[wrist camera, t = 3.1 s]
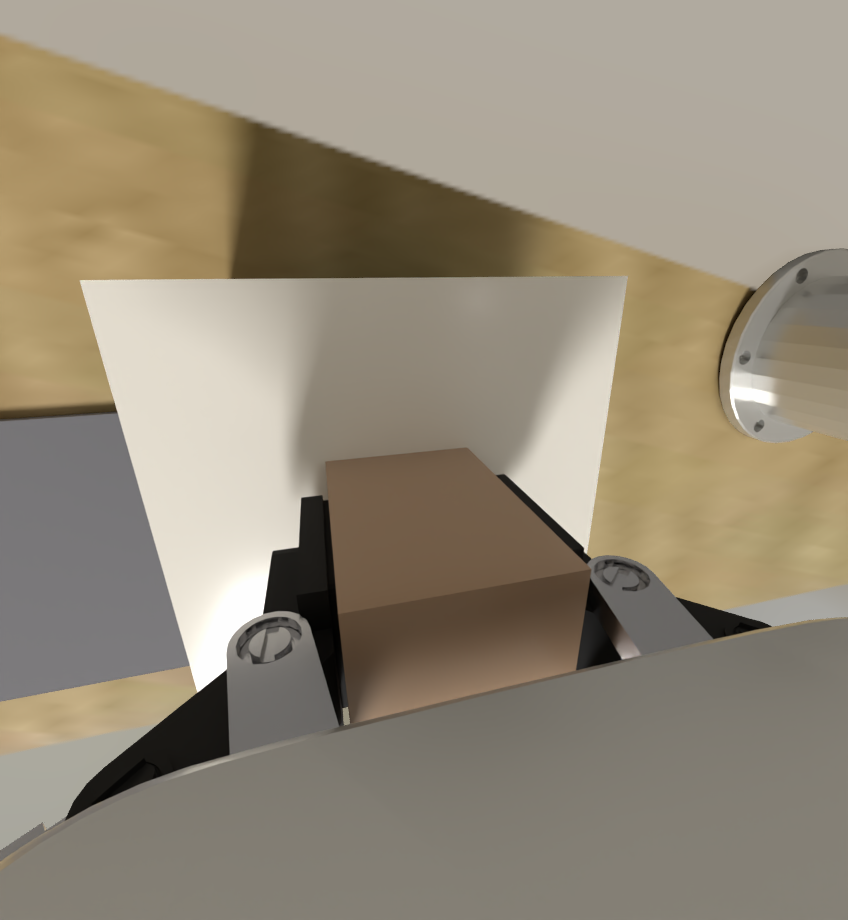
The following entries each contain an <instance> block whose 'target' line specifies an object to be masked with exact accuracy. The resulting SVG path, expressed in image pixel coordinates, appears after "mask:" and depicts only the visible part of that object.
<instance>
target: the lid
mask: <svg viewBox="0 0 848 920" xmlns="http://www.w3.org/2000/svg"><path fill="white" fill-rule="evenodd" d="M627 278H628V276H565V277H433V278H301V279H169V280H80V283H81V287H82V290H83V294H84V297H85V300H86V304H87V307H88V311H89V314H90V318H91V321H92V325H93V328H94V332H95V335H96V339H97V342H98V346H99V349H100V353H101V356H102V360H103V363H104V367H105V370H106V374H107V377H108V381H109V384H110V388H111V391H112V395H113V398H114V402H115V405H116V409H117V412H118V416H119V419H120V423H121V426H122V430H123V433H124V437H125V440H126V444H127V447H128V451H129V454H130V458H131V461H132V465H133V468H134V472H135V475H136V479H137V482H138V486H139V489H140V493H141V496H142V500H143V503H144V507H145V510H146V514H147V517H148V521H149V524H150V528H151V531H152V535H153V538H154V542H155V545H156V549H157V552H158V556H159V559H160V563H161V566H162V570H163V573H164V577H165V580H166V584H167V587H168V591H169V594H170V598H171V601H172V605H173V608H174V612H175V615H176V619H177V622H178V626H179V629H180V633H181V636H182V640H183V643H184V647H185V650H186V653H187V657H188V660H189V664H190V667H191V671H192V674H193V678H194V681H195V685H196V688H197V692H199V691H200V690H201V689H203V688H204V687H205V686H206V685H208V684H209V683H210V682H211V681H213V680H214V679H215V678H216V677H218V676H219V675H220V674H221V673H223V672H224V671H225V670H226V669H227V662H226V651H227V645H228V642H229V640H230V639H231V637H232V635H233V634H234V633H235V632H236V631H237V630H238V629H239V628H240V627H241V626H242V625H243V624H245V623H247V622H248V621H250V620H251V619H253V618H255V617H258V616H260V615H263V609H264V603H265V596H266V590H267V583H268V576H269V570H270V563H271V556H272V552H273V551H275V550H282V549H289V548H296V547H299V530H300V509H301V498H302V497H311V496H319V495H322V496H323V500H328V501H329V513H330V525H331V536H332V548H333V560H334V572H335V584H336V596H337V608H338V618H339V627H340V636H341V645H342V654H343V663H344V672H345V681H346V690H347V699H348V709H349V717H350V724H353V723H357V722H361V721H365V720H369V719H374V718H378V717H382V716H386V715H390V714H394V713H399V712H403V711H407V710H411V709H415V708H419V707H424V706H428V705H432V704H436V703H440V702H444V701H449V700H453V699H457V698H461V697H465V696H469V695H474V694H478V693H482V692H486V691H491V690H495V689H499V688H503V687H508V686H512V685H516V684H520V683H525V682H529V681H533V680H538V679H542V678H546V677H550V676H555V675H559V674H563V673H568V672H572V671H576V666H577V659H578V653H579V646H580V640H581V634H582V627H583V621H584V614H585V608H586V601H587V595H588V588H589V582H590V575H591V568H590V567H589V566H588V565H587V564H586V563H585V562H584V561H583V560H582V559H581V558H580V557H579V556H578V555H577V554H576V553H574V552H573V551H572V550H571V549H570V548H569V547H568V546H567V545H566V544H565V543H564V542H563V541H562V540H561V539H560V538H559V537H558V536H557V535H556V534H555V533H554V532H553V531H552V530H551V529H550V528H549V527H548V526H547V525H546V524H545V523H544V522H543V521H542V520H541V519H540V518H539V517H538V516H537V515H536V514H535V513H534V512H533V511H532V510H531V509H530V508H529V507H528V506H527V505H526V504H524V503H523V502H522V501H521V500H520V499H519V498H518V497H517V496H516V495H515V494H514V493H513V492H512V491H511V490H510V489H509V488H508V487H507V486H506V485H505V484H504V483H503V482H502V481H501V480H500V479H499V478H498V477H497V476H496V475H500V474H505V475H506V476H507V477H509V478H510V479H511V480H512V481H513V482H514V483H515V484H516V485H517V486H518V487H519V488H520V489H521V490H523V491H524V492H525V493H526V494H527V495H528V496H529V497H530V498H531V499H532V500H533V501H534V502H535V503H537V504H538V505H539V506H540V507H541V508H542V509H543V510H544V511H545V512H546V513H547V514H548V515H549V516H551V517H552V518H553V519H554V520H555V521H556V522H557V523H558V524H559V525H560V526H561V527H562V528H563V529H565V530H566V531H567V532H568V533H569V534H570V535H571V536H572V537H573V538H574V539H575V540H576V541H577V542H579V543H580V544H581V545H582V546H583V547H584V552H585V553H586V554H587V549H588V542H589V536H590V529H591V522H592V515H593V508H594V502H595V495H596V488H597V481H598V475H599V468H600V461H601V454H602V448H603V441H604V434H605V427H606V420H607V414H608V407H609V400H610V393H611V387H612V380H613V373H614V366H615V359H616V353H617V346H618V339H619V332H620V326H621V319H622V312H623V305H624V299H625V292H626V285H627Z"/></svg>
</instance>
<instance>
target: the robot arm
mask: <svg viewBox="0 0 848 920" xmlns="http://www.w3.org/2000/svg"><path fill="white" fill-rule="evenodd" d="M719 385H720V398H721V402H722V406H723V410H724V412H725V414H726V416H727V418H728V420H729V422H730V423H731V424H732V425H733V426H734V427H735V428H736V429H737V430H738V431H739V432H741V433H743V434H744V435H746V436H748V437H751V438H754V439H757V440H760V441H763V442H770V443H782V442H790V441H793V440H796V439H799V438H802V437H804V436H806V435H808V434H810V433H812V432H817V433H821V434H824V435H828V436H832V437H835V438H839V439H843V440H846V441H848V249H830V250H820V251H816V252H812V253H808V254H805V255H802V256H801V257H798V258H796V259H794V260H792V261H790V262H788V263H787V264H786V265H784V266H783V267H782V268H780V269H779V270H777V271H776V272H775V273H773V274H772V275H771V276H770V277H769V278H768V279H767V280H766V281H765V282H764V283H763V284H762V285H761V286H760V287H759V288H758V289H757V291H756V292H755V293H754V294H753V296H752V297H751V298H750V300H749V301H748V302H747V304H746V305H745V306H744V308H743V310H742V311H741V313H740V315H739V317H738V318H737V320H736V322H735V323H734V326H733V328H732V330H731V333H730V335H729V337H728V340H727V342H726V346H725V349H724V353H723V357H722V360H721V368H720V376H719ZM496 476H497V477H498V478H499V479H500V480H501V481H502V482H503V483H504V484H505V485H506V486H507V487H508V488H509V489H510V490H511V491H512V492H513V493H514V494H515V495H516V496H517V497H518V498H519V499H520V500H521V501H522V502H523V503H524V504H526V505H527V506H528V507H529V508H530V509H531V510H532V511H533V512H534V513H535V514H536V515H537V516H538V517H539V518H540V519H541V520H542V521H543V522H544V523H545V524H546V525H547V526H548V527H549V528H550V529H551V530H552V531H553V532H554V533H555V534H556V535H557V536H558V537H559V538H560V539H561V540H562V541H563V542H564V543H565V544H566V545H567V546H568V547H569V548H570V549H571V550H572V551H573V552H574V553H576V554H577V555H578V556H579V557H580V558H581V559H582V560H583V561H584V562H585V563H586V564H587V565H588V566H589V567H590V568H591V575H590V582H589V588H588V595H587V601H586V608H585V614H584V621H583V627H582V634H581V640H580V646H579V653H578V659H577V666H576V671H572V672H568V673H563V674H559V675H555V676H550V677H546V678H542V679H538V680H533V681H529V682H525V683H520V684H516V685H512V686H508V687H503V688H499V689H495V690H491V691H486V692H482V693H478V694H474V695H469V696H465V697H461V698H457V699H453V700H449V701H444V702H440V703H436V704H432V705H428V706H424V707H419V708H415V709H411V710H407V711H403V712H399V713H394V714H390V715H386V716H382V717H378V718H374V719H369V720H365V721H361V722H357V723H353V724H349V725H345V726H344V724H343V710H342V708H345V707H348V699H347V690H346V681H345V672H344V663H343V654H342V645H341V636H340V627H339V618H338V608H337V596H336V584H335V572H334V560H333V548H332V536H331V525H330V513H329V501H328V500H323V496H322V495H319V496H311V497H302V498H301V509H300V530H299V547H296V548H289V549H282V550H275V551H273V552H272V556H271V563H270V570H269V576H268V583H267V590H266V596H265V603H264V609H263V615H260V616H258V617H255V618H253V619H251V620H250V621H248V622H247V623H245V624H243V625H242V626H241V627H240V628H239V629H238V630H237V631H236V632H235V633H234V634H233V635H232V637H231V639H230V640H229V642H228V645H227V651H226V662H227V669H226V670H225V671H224V672H223V673H221V674H220V675H219V676H218V677H216V678H215V679H214V680H213V681H211V682H210V683H209V684H208V685H206V686H205V687H204V688H203V689H201V690H200V691H199V692H198V693H196V694H195V695H194V696H193V697H191V698H190V699H189V700H188V701H186V702H185V703H184V704H183V705H182V706H180V707H179V708H178V709H177V710H175V711H174V712H173V713H172V714H170V715H169V716H168V717H167V718H165V719H164V720H163V721H162V722H160V723H159V724H158V725H157V726H155V727H154V728H153V729H152V730H150V731H149V732H148V733H147V734H145V735H144V736H143V737H142V738H141V739H139V740H138V741H137V742H136V743H134V744H133V745H132V746H131V747H129V748H128V749H127V750H125V751H124V752H123V753H122V754H121V755H119V756H118V757H117V758H116V759H114V760H113V761H112V762H111V763H109V764H108V765H107V766H106V767H104V768H103V769H102V770H101V771H100V772H99V773H98V774H97V775H96V776H95V777H94V778H93V779H91V780H90V781H89V782H88V783H87V784H86V786H85V787H84V789H83V790H82V791H81V792H80V794H79V795H78V796H77V798H76V799H75V800H74V802H73V804H72V806H71V808H70V810H69V813H68V815H67V816H66V817H65V818H64V819H62V820H61V821H59V822H58V823H56V824H55V825H53V826H52V827H50V828H49V829H48V830H47V829H46V827H45V826H44V824H43V823H41V824H39V825H38V826H37V827H35V828H33V829H32V830H31V831H29V832H27V833H26V834H24V835H23V836H21V837H20V838H18V839H17V840H15V841H14V842H12V843H11V844H9V845H8V846H6V847H5V848H3V849H2V850H0V920H848V617H847V618H846V617H844V618H842V617H841V618H828V619H817V620H808V621H802V622H797V623H792V624H786V625H781V626H775V627H772V626H770V625H768V624H765V623H763V622H760V621H756V620H752V619H749V618H745V617H742V616H739V615H735V614H732V613H728V612H725V611H722V610H718V609H715V608H711V607H708V606H704V605H701V604H698V603H694V602H691V601H687V600H684V599H680V598H677V597H675V596H674V595H673V594H672V593H671V592H670V591H669V589H668V588H667V587H666V586H665V585H664V584H663V583H662V582H661V581H660V580H659V578H658V577H657V576H656V575H655V574H654V573H653V572H652V571H651V570H650V569H648V568H647V567H646V566H644V565H642V564H640V563H639V562H637V561H634V560H631V559H628V558H624V557H620V556H609V555H606V556H599V557H596V558H594V559H591V558H590V557H589V556H588V555H587V554H586V553H585V552H584V547H583V546H582V545H581V544H580V543H579V542H577V541H576V540H575V539H574V538H573V537H572V536H571V535H570V534H569V533H568V532H567V531H566V530H565V529H563V528H562V527H561V526H560V525H559V524H558V523H557V522H556V521H555V520H554V519H553V518H552V517H551V516H549V515H548V514H547V513H546V512H545V511H544V510H543V509H542V508H541V507H540V506H539V505H538V504H537V503H535V502H534V501H533V500H532V499H531V498H530V497H529V496H528V495H527V494H526V493H525V492H524V491H523V490H521V489H520V488H519V487H518V486H517V485H516V484H515V483H514V482H513V481H512V480H511V479H510V478H509V477H507V476H506V475H505V474H500V475H496Z"/></svg>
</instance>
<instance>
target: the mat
mask: <svg viewBox="0 0 848 920" xmlns="http://www.w3.org/2000/svg"><path fill="white" fill-rule="evenodd" d="M185 666H190V664H189V660H188V657H187V653H186V650H185V647H184V643H183V640H182V636H181V633H180V629H179V626H178V622H177V619H176V615H175V612H174V608H173V605H172V601H171V598H170V594H169V591H168V587H167V584H166V580H165V577H164V573H163V570H162V566H161V563H160V559H159V556H158V552H157V549H156V545H155V542H154V538H153V535H152V531H151V528H150V524H149V521H148V517H147V514H146V510H145V507H144V503H143V500H142V496H141V493H140V489H139V486H138V482H137V479H136V475H135V472H134V468H133V465H132V461H131V458H130V454H129V451H128V447H127V444H126V440H125V437H124V433H123V430H122V426H121V423H120V419H119V416H118V412H104V413H89V414H74V415H60V416H45V417H30V418H15V419H1V420H0V701H6V700H11V699H16V698H22V697H27V696H32V695H37V694H43V693H48V692H53V691H59V690H64V689H69V688H74V687H80V686H85V685H90V684H96V683H101V682H106V681H111V680H117V679H122V678H127V677H133V676H138V675H143V674H148V673H154V672H159V671H164V670H169V669H175V668H180V667H185Z"/></svg>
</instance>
